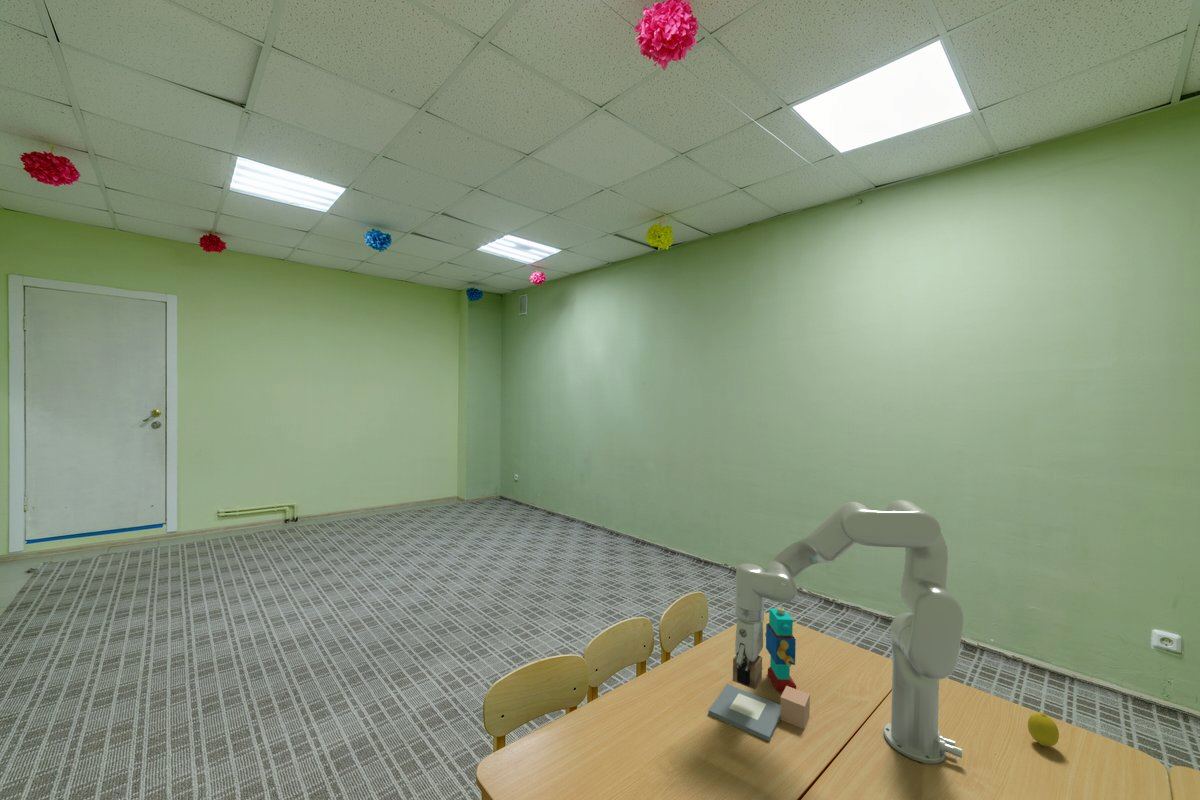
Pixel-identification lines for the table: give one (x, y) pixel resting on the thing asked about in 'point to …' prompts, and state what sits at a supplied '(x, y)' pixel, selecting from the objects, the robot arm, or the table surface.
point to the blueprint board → (746, 712)
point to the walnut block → (754, 669)
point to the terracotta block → (795, 707)
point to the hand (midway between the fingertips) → (747, 676)
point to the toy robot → (780, 648)
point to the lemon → (1043, 729)
